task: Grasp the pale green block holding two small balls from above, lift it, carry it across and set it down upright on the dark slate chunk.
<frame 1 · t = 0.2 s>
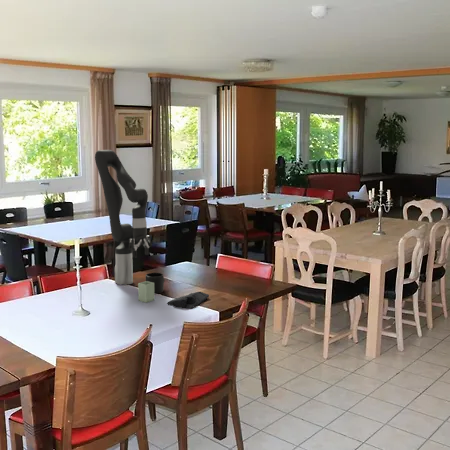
hand: (140, 256, 301), 17 cm above the table, tool pointing down, fingers open, 8 cm apart
mug: (156, 291, 297), on the table
dark slate chunk: (189, 303, 278), on the table
pale green block: (146, 300, 279), on the table, touching ball grey, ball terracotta
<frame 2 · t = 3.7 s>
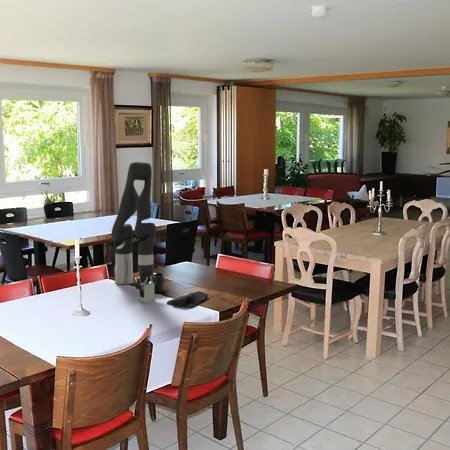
hand: (146, 295, 279), 3 cm above the table, tool pointing down, fingers closed on pale green block, 5 cm apart
pale green block: (146, 300, 279), on the table, touching ball grey, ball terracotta, gripper
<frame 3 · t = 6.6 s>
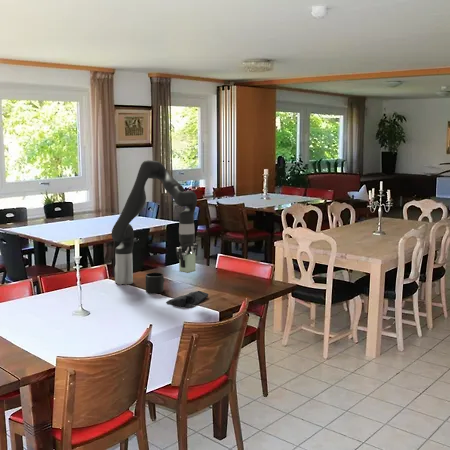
hand: (187, 266, 274), 18 cm above the table, tool pointing down, fingers closed on pale green block, 5 cm apart
pale green block: (187, 271, 275), point 16 cm above the table, touching ball grey, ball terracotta, gripper
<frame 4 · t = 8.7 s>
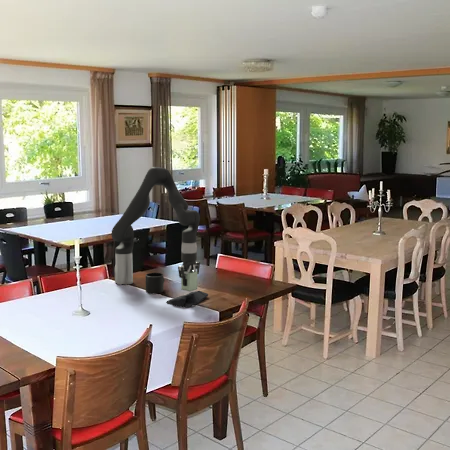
hand: (189, 284, 276), 9 cm above the table, tool pointing down, fingers closed on pale green block, 5 cm apart
ball grey: (191, 280, 276), point 11 cm above the table, tilted 59°, touching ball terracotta, pale green block
pale green block: (189, 289, 277), point 6 cm above the table, touching ball grey, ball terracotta, gripper
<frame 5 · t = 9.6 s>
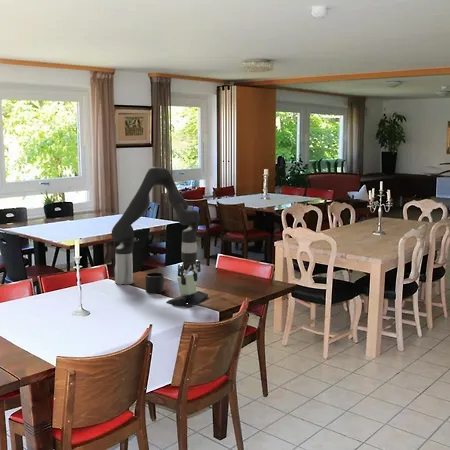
hand: (189, 282, 276), 10 cm above the table, tool pointing down, fingers open, 8 cm apart
dark slate chunk: (188, 302, 280), on the table, touching pale green block
ball grey: (189, 285, 277), point 8 cm above the table, tilted 97°, touching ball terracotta, pale green block
pale green block: (188, 293, 277), point 4 cm above the table, tilted 14°, touching ball grey, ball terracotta, dark slate chunk
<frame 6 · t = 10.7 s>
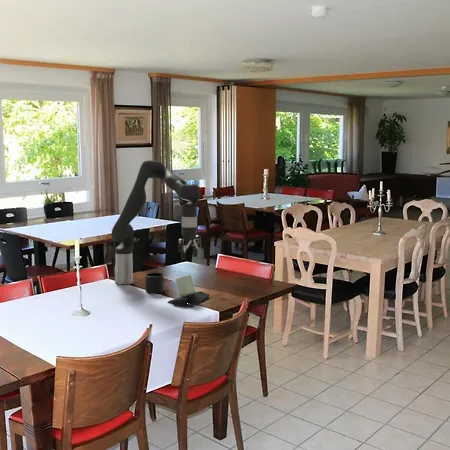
hand: (189, 258, 274), 22 cm above the table, tool pointing down, fingers open, 8 cm apart
dark slate chunk: (189, 302, 280), on the table
ball grey: (187, 286, 279), point 7 cm above the table, tilted 104°, touching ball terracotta, pale green block
pale green block: (187, 294, 279), point 3 cm above the table, tilted 19°, touching ball grey, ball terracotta
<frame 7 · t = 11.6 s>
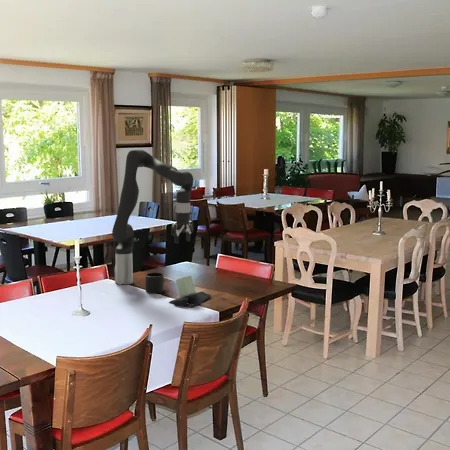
hand: (182, 242, 288), 27 cm above the table, tool pointing down, fingers open, 8 cm apart
dark slate chunk: (191, 303, 279), on the table, touching pale green block
pale green block: (188, 295, 279), point 3 cm above the table, tilted 19°, touching ball grey, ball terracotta, dark slate chunk
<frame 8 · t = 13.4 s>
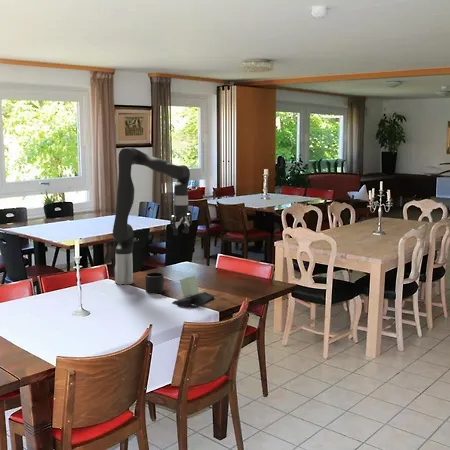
hand: (181, 234, 295), 30 cm above the table, tool pointing down, fingers open, 8 cm apart
dark slate chunk: (194, 303, 279), on the table, touching pale green block
ball grey: (191, 286, 279), point 7 cm above the table, tilted 105°, touching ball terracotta, pale green block
pale green block: (191, 295, 278), point 3 cm above the table, tilted 19°, touching ball grey, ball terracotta, dark slate chunk
at the end: pale green block inside the target area on the dark slate chunk (1.3 cm from its centre), point 4.1 cm above the dark slate chunk's base; pale green block tilted 19°; the gripper is holding nothing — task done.
